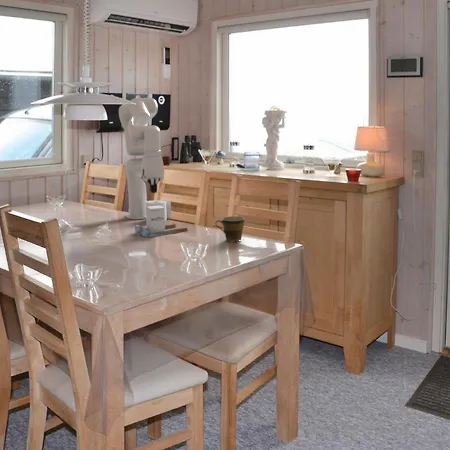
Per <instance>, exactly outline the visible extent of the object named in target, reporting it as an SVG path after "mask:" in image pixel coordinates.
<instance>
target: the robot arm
mask: <svg viewBox="0 0 450 450" xmlns="http://www.w3.org/2000/svg"><path fill="white" fill-rule="evenodd" d="M130 101H131V102H134V103H136V105H133V104H129V103H126V104H125V103H124V104H122V105H120V106H119V108H118V116H119V120H120V123H121V125H122V127H123V131H124V141H125V150H126V153H127V155H128V156H130V157H139V158H130V159H128V160H127V161H126V162H125V165H124V166H125V167H124V168H125V173H126V180H127V190H128V191H127V192H128V193H127V194H128V209H127V212H128V214H127V215H126V218H127V219H129V220H146V202H147V201H148V200H147V184H146V183H145V182H147V183H148V184H149V191H150V193H152V194H157V192H158V185H159V183H160V181H161V180H164V177H165V167H164V166H165V165H164V161H163V156H162V154H163V153H164V152H163V150H161V131H160V130H161V129H160V128H159V126H157V125H154V124H153V125H152V124H151V125H148V123H149V122H150V120H152V119H153V118H154V117H155V116H156V115H157V113H158V107H159V105H158V103H157V100H156V99H154V98H153V97H135V98H131V99H130ZM140 157H141V158H140Z"/></svg>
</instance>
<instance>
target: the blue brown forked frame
mask: <svg viewBox="0 0 450 450" xmlns="http://www.w3.org/2000/svg"><path fill="white" fill-rule="evenodd" d="M176 226H177V225H176V223H174V224H167V225H166V224H165V231H161V232H155V233H149V230H148V228H147V227H144V226H141V225H138V224H134V233H135V234H137V235H138V236H139V235H140V236H142V237H145V238H151V237H158V236H163V235H169V234H170V235H171V234H175V233H181V232H183V233H184V232H188V231H189V230H188V227H186V226H185V227H180V228H176ZM173 228H174V229H173Z"/></svg>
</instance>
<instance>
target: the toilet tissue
mask: <svg viewBox="0 0 450 450" xmlns="http://www.w3.org/2000/svg"><path fill="white" fill-rule="evenodd" d="M171 202H172V201H171V200H167V199H153V200H147V202H146V207H148V206H162V207H164V210H165V222H167V219H172V203H171Z"/></svg>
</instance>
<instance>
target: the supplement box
mask: <svg viewBox="0 0 450 450" xmlns="http://www.w3.org/2000/svg"><path fill="white" fill-rule="evenodd" d="M145 220H146V221H145V222H146V228H148V230H149V233H155V232H161V231H166V229H165V225H166V221H165V210H164V207H162V206H148V207H146V219H145Z"/></svg>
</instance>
